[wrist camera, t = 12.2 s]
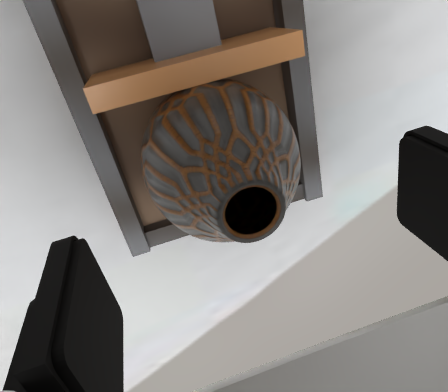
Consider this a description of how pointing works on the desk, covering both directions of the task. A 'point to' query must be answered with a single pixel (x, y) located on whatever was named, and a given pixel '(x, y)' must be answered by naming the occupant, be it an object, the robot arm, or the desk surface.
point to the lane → (141, 111)
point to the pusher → (188, 54)
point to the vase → (221, 161)
